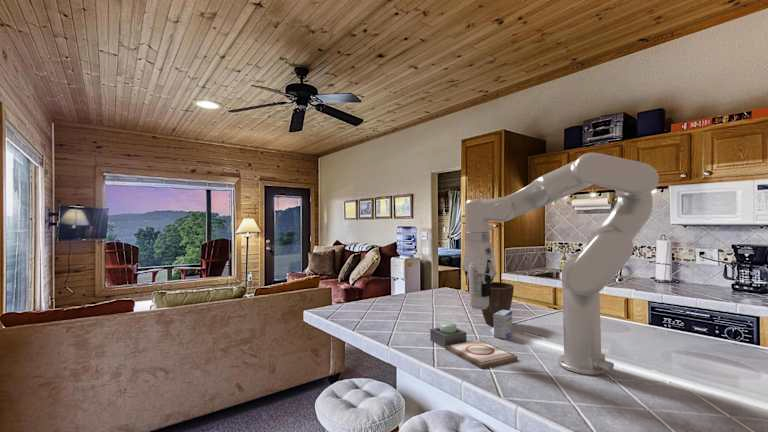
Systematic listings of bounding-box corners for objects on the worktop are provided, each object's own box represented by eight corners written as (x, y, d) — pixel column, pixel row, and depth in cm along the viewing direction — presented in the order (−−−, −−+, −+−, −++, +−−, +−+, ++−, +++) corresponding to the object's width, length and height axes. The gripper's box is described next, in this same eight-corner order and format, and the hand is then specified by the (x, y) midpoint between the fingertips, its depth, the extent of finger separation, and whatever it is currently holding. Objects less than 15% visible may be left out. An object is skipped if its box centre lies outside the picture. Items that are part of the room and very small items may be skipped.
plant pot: (486, 317, 161) (485, 280, 161) (520, 322, 151) (519, 283, 151) (470, 324, 149) (469, 285, 149) (506, 331, 140) (505, 289, 140)
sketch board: (517, 360, 111) (517, 355, 111) (481, 368, 106) (481, 363, 106) (478, 342, 128) (478, 338, 128) (445, 349, 122) (445, 344, 122)
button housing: (466, 343, 127) (466, 332, 127) (444, 347, 123) (444, 336, 123) (451, 336, 135) (451, 325, 135) (430, 340, 131) (430, 328, 131)
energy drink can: (485, 305, 120) (484, 259, 120) (491, 309, 114) (490, 261, 114) (467, 305, 120) (466, 259, 120) (472, 310, 114) (471, 261, 114)
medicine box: (505, 339, 131) (505, 315, 131) (493, 337, 133) (493, 313, 133) (512, 333, 137) (512, 310, 137) (501, 331, 140) (500, 309, 140)
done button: (459, 334, 128) (459, 325, 128) (445, 336, 125) (445, 328, 125) (450, 330, 133) (449, 321, 133) (436, 332, 130) (436, 323, 130)
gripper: (506, 238, 111) (507, 297, 111) (470, 236, 127) (471, 288, 126) (486, 239, 108) (488, 300, 107) (452, 237, 123) (453, 291, 123)
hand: (479, 293), depth 117 cm, fingers closed on energy drink can, 6 cm apart
